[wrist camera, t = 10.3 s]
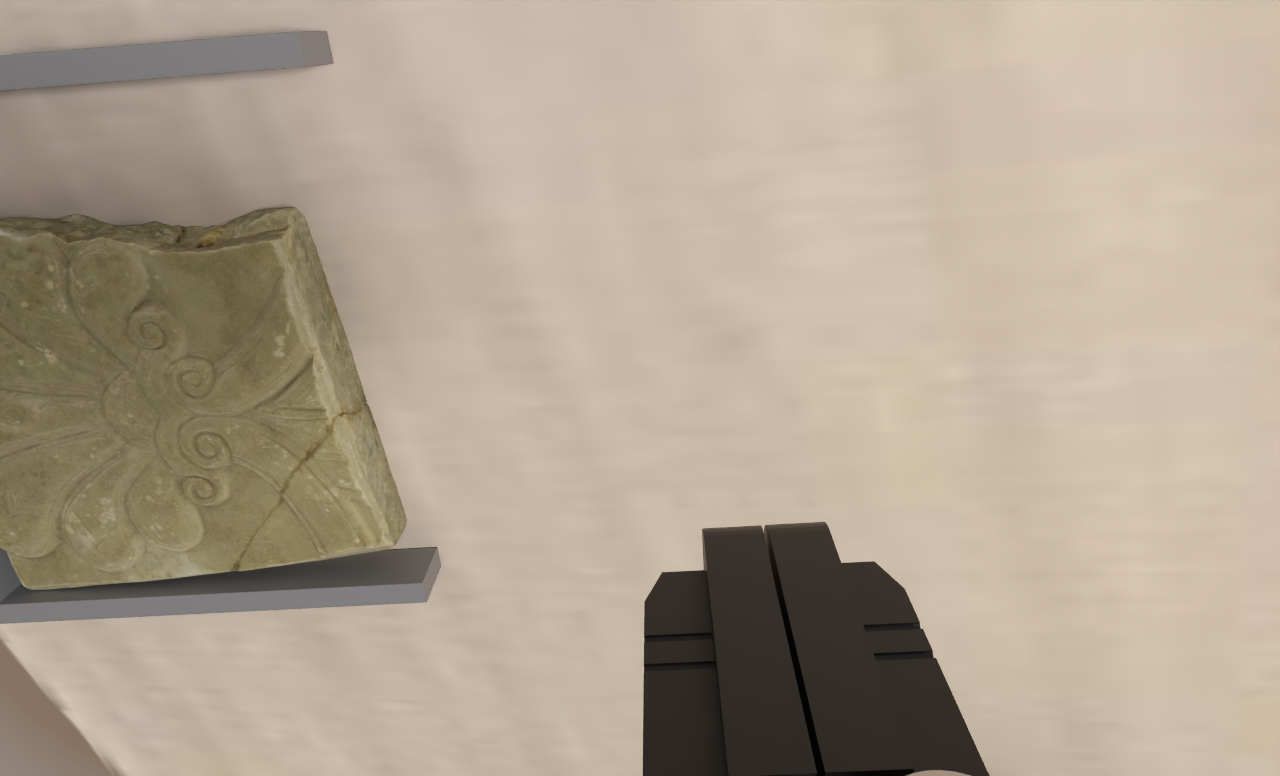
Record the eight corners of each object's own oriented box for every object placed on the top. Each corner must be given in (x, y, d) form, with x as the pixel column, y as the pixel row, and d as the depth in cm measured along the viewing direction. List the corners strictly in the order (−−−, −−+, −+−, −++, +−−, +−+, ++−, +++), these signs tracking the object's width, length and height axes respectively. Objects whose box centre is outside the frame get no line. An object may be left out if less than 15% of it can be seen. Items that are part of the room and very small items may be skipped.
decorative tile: (412, 524, 43) (393, 565, 39) (58, 562, 44) (11, 605, 41) (306, 169, 35) (271, 184, 32) (-118, 228, 36) (-194, 248, 33)
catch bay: (-222, 75, 33) (-300, 79, 30) (326, 31, 32) (296, 31, 29) (25, 587, 44) (-16, 624, 41) (440, 565, 43) (426, 602, 40)
